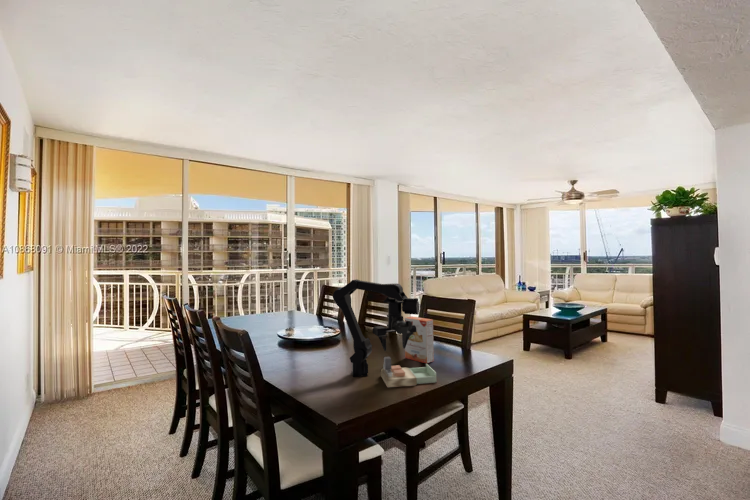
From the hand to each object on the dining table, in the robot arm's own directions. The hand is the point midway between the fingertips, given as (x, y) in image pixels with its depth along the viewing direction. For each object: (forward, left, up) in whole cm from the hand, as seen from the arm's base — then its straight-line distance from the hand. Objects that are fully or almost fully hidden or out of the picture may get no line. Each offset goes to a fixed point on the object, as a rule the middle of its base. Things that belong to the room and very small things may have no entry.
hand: (394, 349), depth 161 cm
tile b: (+1, +1, -9) cm, 9 cm away
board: (+1, -3, -12) cm, 13 cm away
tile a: (+1, -5, -9) cm, 11 cm away
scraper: (-4, -2, -9) cm, 10 cm away
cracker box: (+18, +24, -12) cm, 32 cm away
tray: (+11, -2, -12) cm, 17 cm away
